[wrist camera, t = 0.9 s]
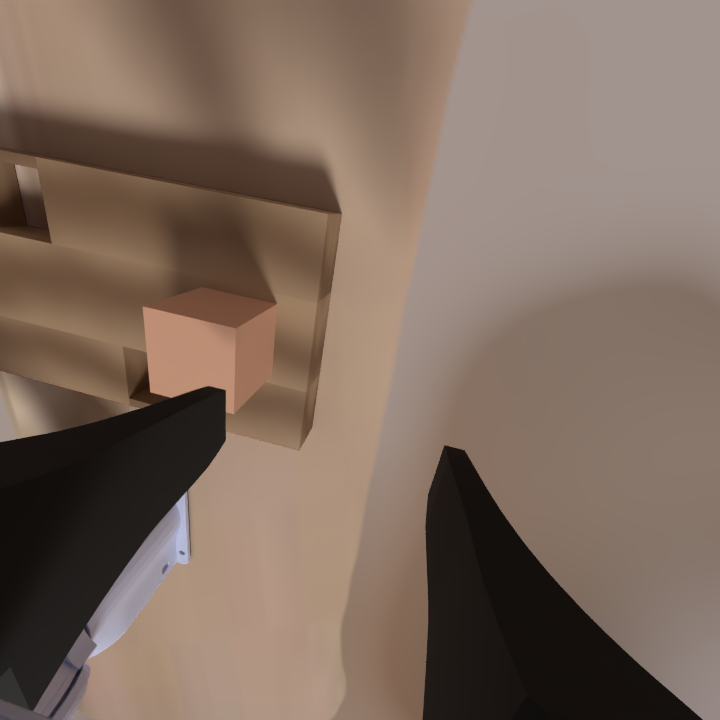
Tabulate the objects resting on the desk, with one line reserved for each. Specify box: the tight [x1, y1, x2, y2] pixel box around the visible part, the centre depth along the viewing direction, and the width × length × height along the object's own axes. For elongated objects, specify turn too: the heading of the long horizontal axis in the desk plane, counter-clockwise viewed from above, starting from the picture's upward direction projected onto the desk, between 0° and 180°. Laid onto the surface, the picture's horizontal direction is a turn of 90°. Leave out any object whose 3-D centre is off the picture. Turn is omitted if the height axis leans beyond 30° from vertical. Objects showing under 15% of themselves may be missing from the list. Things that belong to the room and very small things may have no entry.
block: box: [143, 287, 277, 414], centre depth 16 cm, size 4×4×4 cm
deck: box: [0, 148, 342, 451], centre depth 19 cm, size 13×27×6 cm, turn 80°
